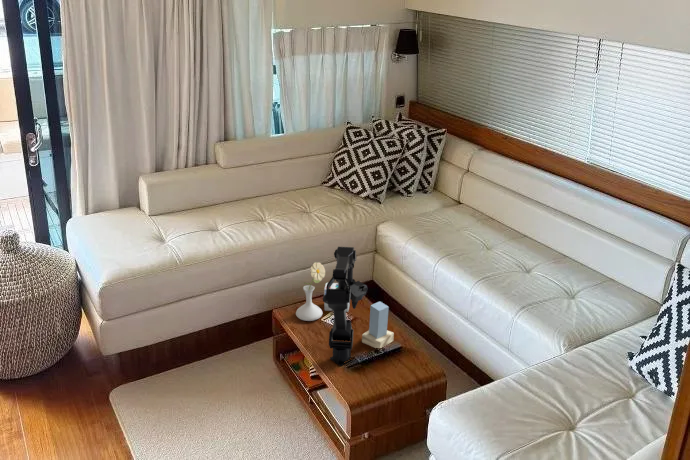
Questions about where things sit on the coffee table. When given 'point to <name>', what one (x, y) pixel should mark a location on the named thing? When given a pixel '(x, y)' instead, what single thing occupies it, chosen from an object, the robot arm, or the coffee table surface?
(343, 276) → the robot arm
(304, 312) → the flower in vase
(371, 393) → the coffee table surface
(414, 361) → the coffee table surface
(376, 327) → the blue pillar
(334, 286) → the light bulb box
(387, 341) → the maple block
